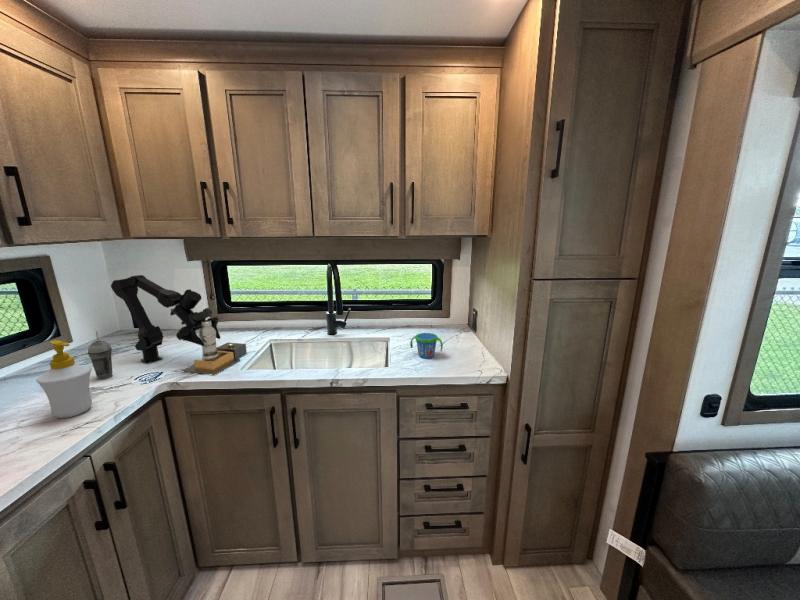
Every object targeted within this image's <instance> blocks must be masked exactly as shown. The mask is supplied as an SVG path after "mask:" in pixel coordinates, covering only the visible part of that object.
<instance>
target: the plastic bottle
mask: <svg viewBox="0 0 800 600" xmlns="http://www.w3.org/2000/svg"><path fill="white" fill-rule="evenodd" d="M211 325H212V323H211V320H208V319H206V320H204V321H201V326H202V328H201V329H199V330H198V337H199V338H200V339H201V340H202V341H203V343H204V344H205V345H204V346H201V349H202V352H201V353H202V359H201V360H203V361H214V360H216V359H218V358H220V357H219V354H218V351H217V347H218V346H217V338H216V331H215V329H214V328H213V327H212V326H211Z"/></svg>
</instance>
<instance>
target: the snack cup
mask: <svg viewBox="0 0 800 600" xmlns="http://www.w3.org/2000/svg"><path fill="white" fill-rule="evenodd" d="M414 339H415V343H416V347H417V354H418V357H420V358H421V359H432V358H433V357H434V356H435V351H436V345H437V341H438V342H439V343H440V352H442V351H443V347H444V346H443V345H444V344H443V341H442V339H441V338H440V337H438V335H437V334H435V333H431V332H421V333H418V334H416V335H414V336H413V337H411V340H410V342H409V343H410V345H409V346H410V348H411V349H412V348H414V345H413V340H414Z"/></svg>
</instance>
